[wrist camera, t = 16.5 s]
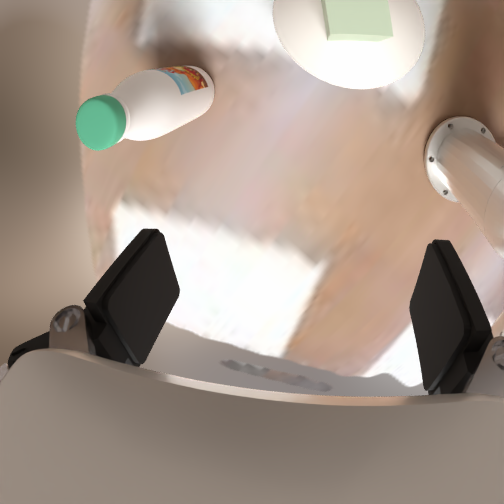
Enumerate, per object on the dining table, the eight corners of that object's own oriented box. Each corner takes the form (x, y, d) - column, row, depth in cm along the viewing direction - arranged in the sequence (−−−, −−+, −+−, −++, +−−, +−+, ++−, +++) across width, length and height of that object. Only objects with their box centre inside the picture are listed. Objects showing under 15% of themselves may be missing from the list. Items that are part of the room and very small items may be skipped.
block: (371, -3, 18) (384, -18, 13) (378, 42, 21) (393, 36, 16) (320, -4, 19) (320, -21, 14) (327, 40, 22) (330, 34, 17)
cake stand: (392, -19, 20) (410, -37, 14) (407, 86, 29) (430, 93, 22) (273, -18, 24) (261, -38, 18) (291, 87, 33) (285, 92, 26)
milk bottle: (225, 103, 35) (149, 143, 20) (179, 127, 38) (88, 183, 23) (200, 55, 32) (104, 59, 16) (155, 82, 35) (50, 113, 19)
